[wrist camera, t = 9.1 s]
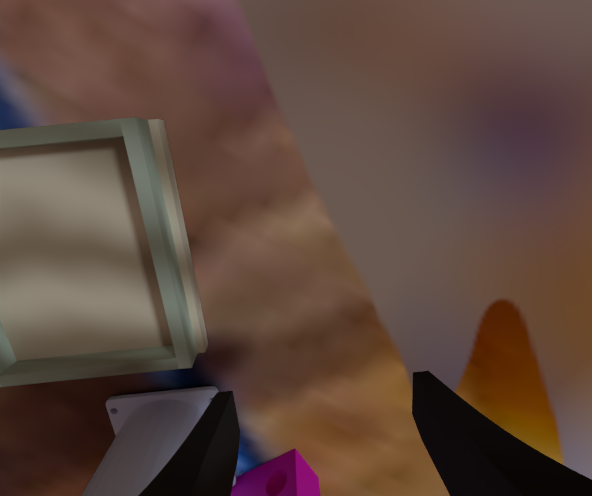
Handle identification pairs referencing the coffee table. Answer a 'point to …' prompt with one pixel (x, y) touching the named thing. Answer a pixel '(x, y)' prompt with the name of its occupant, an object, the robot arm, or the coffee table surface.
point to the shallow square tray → (93, 254)
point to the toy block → (279, 478)
